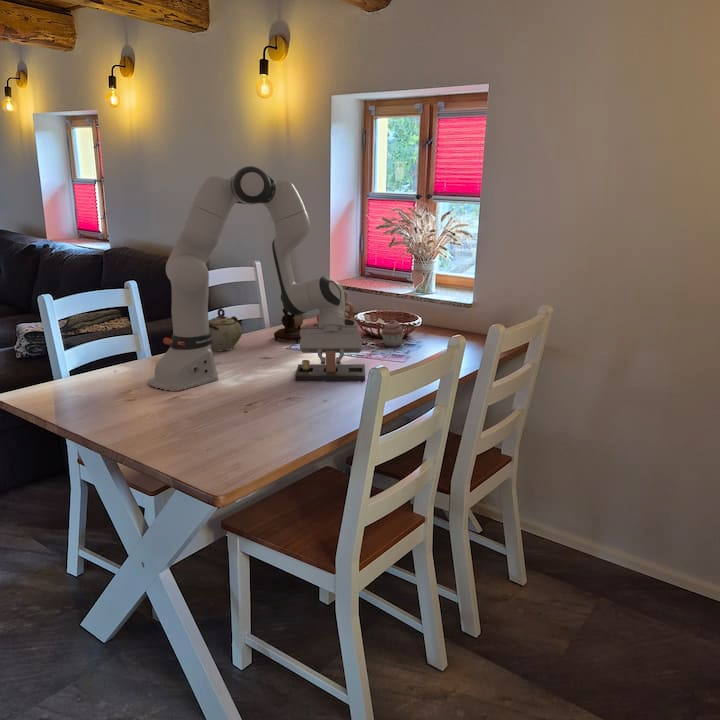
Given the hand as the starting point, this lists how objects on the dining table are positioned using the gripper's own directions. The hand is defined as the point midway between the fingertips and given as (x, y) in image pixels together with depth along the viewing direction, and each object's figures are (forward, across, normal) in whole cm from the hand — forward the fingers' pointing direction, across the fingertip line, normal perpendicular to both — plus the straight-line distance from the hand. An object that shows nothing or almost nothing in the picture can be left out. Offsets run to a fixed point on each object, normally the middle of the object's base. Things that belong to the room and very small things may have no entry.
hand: (330, 363), depth 198 cm
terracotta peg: (+3, 0, +4) cm, 4 cm away
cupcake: (-24, +22, +31) cm, 45 cm away
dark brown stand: (-30, -17, +37) cm, 51 cm away
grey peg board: (+3, 0, +4) cm, 4 cm away
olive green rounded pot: (-21, -42, +27) cm, 54 cm away
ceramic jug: (-47, -1, +53) cm, 71 cm away
